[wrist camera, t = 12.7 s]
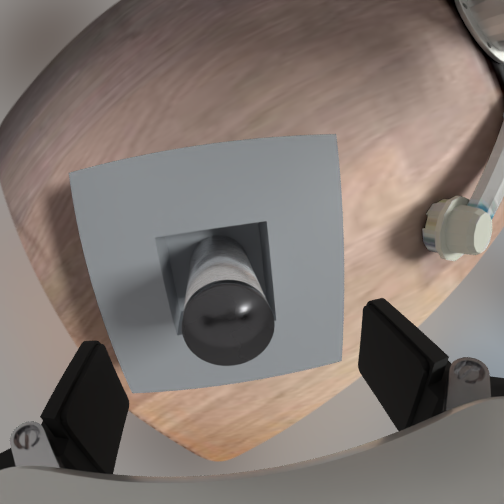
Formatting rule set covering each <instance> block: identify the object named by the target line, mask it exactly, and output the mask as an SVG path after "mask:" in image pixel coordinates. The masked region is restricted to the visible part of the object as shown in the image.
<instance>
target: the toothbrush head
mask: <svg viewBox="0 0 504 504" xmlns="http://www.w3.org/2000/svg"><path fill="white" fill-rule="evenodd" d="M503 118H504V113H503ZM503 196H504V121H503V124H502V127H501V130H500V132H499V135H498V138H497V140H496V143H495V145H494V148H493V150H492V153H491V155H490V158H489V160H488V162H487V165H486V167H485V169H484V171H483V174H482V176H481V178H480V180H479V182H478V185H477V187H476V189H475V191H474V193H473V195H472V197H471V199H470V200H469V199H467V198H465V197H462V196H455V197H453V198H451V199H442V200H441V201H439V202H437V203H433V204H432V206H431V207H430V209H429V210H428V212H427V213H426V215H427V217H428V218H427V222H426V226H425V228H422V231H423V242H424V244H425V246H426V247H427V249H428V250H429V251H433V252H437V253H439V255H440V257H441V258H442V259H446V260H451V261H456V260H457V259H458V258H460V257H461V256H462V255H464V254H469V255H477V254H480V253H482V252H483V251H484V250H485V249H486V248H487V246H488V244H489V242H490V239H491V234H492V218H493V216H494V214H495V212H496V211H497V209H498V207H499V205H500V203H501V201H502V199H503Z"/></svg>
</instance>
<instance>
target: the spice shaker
mask: <svg viewBox="0 0 504 504" xmlns="http://www.w3.org/2000/svg"><path fill="white" fill-rule="evenodd" d="M274 328H275V322H274V317H273V313H272V311H271V309H270V306H269V304H268V302H267V300H266V298H265V295H264V293H263V291H262V289H261V286H260V284H259V282H258V280H257V278H256V275H255V273H254V271H253V269H252V266H251V264H250V262H249V260H248V257H247V255H246V253H245V251H244V249H243V247H242V246H241V245H240V244H239V243H238V242H237V241H236V240H234V239H232V238H230V237H227V236H220V235H218V236H211V237H208V238H206V239H204V240H203V241H201V242H200V243H199V244H198V245H197V246H196V248H195V249H194V251H193V253H192V256H191V262H190V268H189V275H188V282H187V289H186V297H185V304H184V312H183V320H182V334H183V338H184V341H185V343H186V345H187V346H188V348H189V349H190V350H191V351H192V353H193V354H195V355H196V356H197V357H198V358H200V359H202V360H204V361H206V362H208V363H211V364H214V365H220V366H233V365H239V364H243V363H246V362H248V361H250V360H252V359H254V358H256V357H257V356H258V355H260V354H261V353H262V352H263V351H264V350H265V349H266V347H267V346H268V345H269V343H270V341H271V339H272V337H273V333H274Z"/></svg>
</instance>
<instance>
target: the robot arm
mask: <svg viewBox="0 0 504 504" xmlns="http://www.w3.org/2000/svg"><path fill="white" fill-rule="evenodd" d="M454 1H455V4H456V7H457V9H458V11H459V13H460V16H461V18H462V19H463V21H464V23H465V25H466V27H467V28H468V30H469V31H470V33H471V34H472V36H473V37H474V39H475V40H476V41H477V43H478V44H479V45H480V46H481V48H482V49H483V50H484V51H485V52H486V53H487V54H488V55H489V56H490V57H491V58H492V59H493V60H495V61H496V62H498V63H500V64H504V0H454ZM448 358H449V357H448V356H447V355H446V354H445V353H444V352H443V351H442V350H441V349H440V348H439V347H438V346H437V345H436V344H435V343H433V342H432V341H431V340H430V339H429V338H428V337H427V336H426V335H424V333H422V332H421V331H420V330H419V329H418V328H417V327H416V326H415V325H414V324H413V323H411V322H410V321H409V320H408V319H407V318H406V317H405V316H404V315H402V314H401V313H400V312H399V311H398V310H397V309H396V308H394V307H393V306H392V305H391V304H390V303H389V302H387V301H386V300H385V299H384V298H380V299H376V300H372V301H369V302H368V303H367V306H364V308H363V316H362V330H361V341H360V352H359V361H358V367H359V371H360V373H361V375H362V376H363V378H364V379H365V381H366V382H367V384H368V385H369V387H370V388H371V390H372V391H373V393H374V394H375V395H376V397H377V399H378V400H379V402H380V403H381V405H382V406H383V408H384V409H385V411H386V412H387V414H388V416H389V417H390V419H391V420H392V422H393V423H394V425H395V426H396V428H397V429H398V431H399V432H396V433H394V434H391V435H388V436H386V437H383V438H380V439H378V440H375V441H372V442H369V443H366V444H363V445H360V446H357V447H354V448H351V449H348V450H345V451H341V452H338V453H334V454H331V455H327V456H323V457H320V458H315V459H312V460H307V461H303V462H298V463H294V464H289V465H284V466H279V467H273V468H268V469H261V470H254V471H247V472H239V473H231V474H220V475H207V476H188V477H145V476H127V475H115V474H113V471H114V467H115V461H116V457H117V453H118V449H119V444H120V440H121V436H122V432H123V428H124V424H125V420H126V416H127V412H128V409H129V400H128V397H127V395H126V393H125V391H124V389H123V387H122V384H121V382H120V380H119V378H118V376H117V373H116V371H115V369H114V367H113V364H112V362H111V360H110V357H109V355H108V352H107V350H106V348H105V346H104V345H103V344H100V342H99V341H84V342H83V343H82V344H81V346H80V347H79V349H78V351H77V352H76V354H75V356H74V357H73V359H72V361H71V362H70V364H69V366H68V367H67V369H66V371H65V372H64V374H63V376H62V378H61V379H60V381H59V383H58V385H57V386H56V388H55V390H54V392H53V394H52V395H51V398H50V399H49V401H48V403H47V405H46V407H45V409H44V410H43V412H42V414H41V416H40V417H41V418H42V419H43V422H42V424H41V425H40V424H39V423H37V422H34V421H31V422H25V423H22V424H21V425H19V426H18V427H17V428H16V429H15V430H14V431H13V433H12V434H11V438H10V445H11V448H10V449H8V450H6V451H4V452H3V453H0V504H504V378H498V377H490V375H489V370H488V368H487V367H486V365H485V364H484V363H483V362H481V361H479V360H477V359H475V358H470V357H469V358H468V357H463V358H460V359H457V360H455V361H454V362H453V363H452V364H451V363H450V362H449V361H448Z"/></svg>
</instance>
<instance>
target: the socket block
mask: <svg viewBox="0 0 504 504" xmlns="http://www.w3.org/2000/svg"><path fill="white" fill-rule="evenodd" d="M69 178H70V185H71V192H72V198H73V204H74V209H75V215H76V220H77V225H78V230H79V235H80V239H81V244H82V248H83V252H84V256H85V260H86V264H87V268H88V272H89V275H90V279H91V283H92V286H93V290H94V293H95V296H96V299H97V303H98V306H99V309H100V312H101V315H102V318H103V321H104V324H105V327H106V330H107V332H108V335H109V338H110V341H111V343H112V346H113V349H114V351H115V354H116V356H117V359H118V361H119V364H120V366H121V368H122V371H123V373H124V376H125V378H126V380H127V382H128V385H129V387H130V389H131V391H132V393H147V392H163V391H175V390H186V389H196V388H204V387H212V386H220V385H227V384H234V383H240V382H247V381H253V380H258V379H264V378H269V377H274V376H280V375H285V374H289V373H294V372H299V371H303V370H307V369H312V368H316V367H320V366H324V365H328V364H332V363H336V362H340V361H342V345H343V320H344V237H343V212H342V195H341V180H340V168H339V157H338V147H337V137H336V134H324V135H299V136H282V137H269V138H257V139H247V140H237V141H229V142H220V143H213V144H205V145H198V146H192V147H185V148H179V149H173V150H167V151H162V152H156V153H151V154H146V155H141V156H136V157H131V158H127V159H122V160H118V161H114V162H109V163H105V164H101V165H97V166H93V167H89V168H85V169H82V170H78V171H74V172H71V173H69ZM218 235H220V236H227V237H230V238H232V239H234V240H236V241H237V242H238V243H239V244H240V245H241V246H242V247H243V249H244V251H245V253H246V255H247V257H248V260H249V262H250V264H251V266H252V269H253V271H254V273H255V275H256V278H257V280H258V282H259V284H260V286H261V289H262V291H263V293H264V295H265V298H266V300H267V302H268V304H269V306H270V309H271V311H272V313H273V317H274V322H275V328H274V333H273V337H272V339H271V341H270V343H269V345H268V346H267V347H266V349H265V350H264V351H263V352H262V353H261V354H260V355H258V356H257V357H256V358H254V359H252V360H250V361H248V362H246V363H243V364H239V365H233V366H220V365H214V364H211V363H208V362H206V361H204V360H202V359H200V358H198V357H197V356H196V355H195V354H193V353H192V351H191V350H190V349H189V348H188V346H187V345H186V343H185V341H184V338H183V334H182V320H183V312H184V304H185V297H186V289H187V282H188V275H189V268H190V262H191V256H192V253H193V251H194V249H195V248H196V246H197V245H198V244H199V243H200V242H201V241H203V240H204V239H206V238H208V237H211V236H218Z"/></svg>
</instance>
